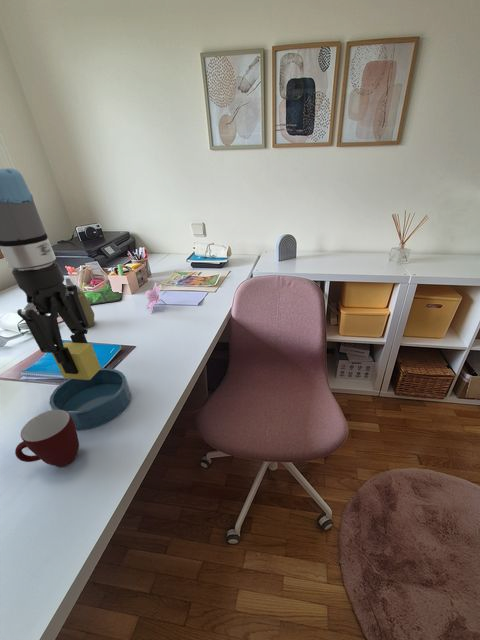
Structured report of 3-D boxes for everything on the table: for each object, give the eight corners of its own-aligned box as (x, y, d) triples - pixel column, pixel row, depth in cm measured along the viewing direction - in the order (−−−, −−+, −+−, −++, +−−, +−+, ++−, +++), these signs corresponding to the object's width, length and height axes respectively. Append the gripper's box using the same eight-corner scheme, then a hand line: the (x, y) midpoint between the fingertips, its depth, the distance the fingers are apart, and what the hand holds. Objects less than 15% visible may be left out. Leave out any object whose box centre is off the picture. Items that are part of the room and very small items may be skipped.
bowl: (41, 426, 69) (31, 410, 66) (86, 380, 83) (79, 366, 80) (107, 433, 67) (100, 417, 64) (142, 385, 81) (138, 370, 78)
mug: (28, 491, 56) (2, 456, 50) (28, 460, 61) (4, 426, 56) (90, 463, 61) (72, 428, 55) (85, 437, 66) (68, 403, 61)
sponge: (63, 378, 68) (51, 352, 65) (76, 366, 72) (65, 341, 68) (89, 380, 68) (78, 354, 64) (101, 368, 71) (91, 343, 68)
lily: (150, 303, 128) (135, 288, 121) (174, 291, 127) (160, 275, 119) (151, 322, 121) (136, 308, 114) (177, 310, 120) (162, 294, 112)
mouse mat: (121, 300, 128) (121, 298, 128) (64, 309, 122) (63, 306, 122) (123, 280, 150) (123, 278, 149) (74, 286, 144) (74, 284, 143)
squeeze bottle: (94, 318, 115) (77, 272, 105) (100, 325, 110) (83, 278, 100) (71, 325, 111) (51, 277, 101) (76, 333, 106) (56, 284, 96)
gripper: (13, 282, 48) (68, 392, 61) (82, 252, 63) (115, 346, 76) (-27, 281, 49) (35, 389, 62) (50, 251, 64) (88, 344, 76)
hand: (79, 365), depth 69 cm, fingers closed on sponge, 4 cm apart
